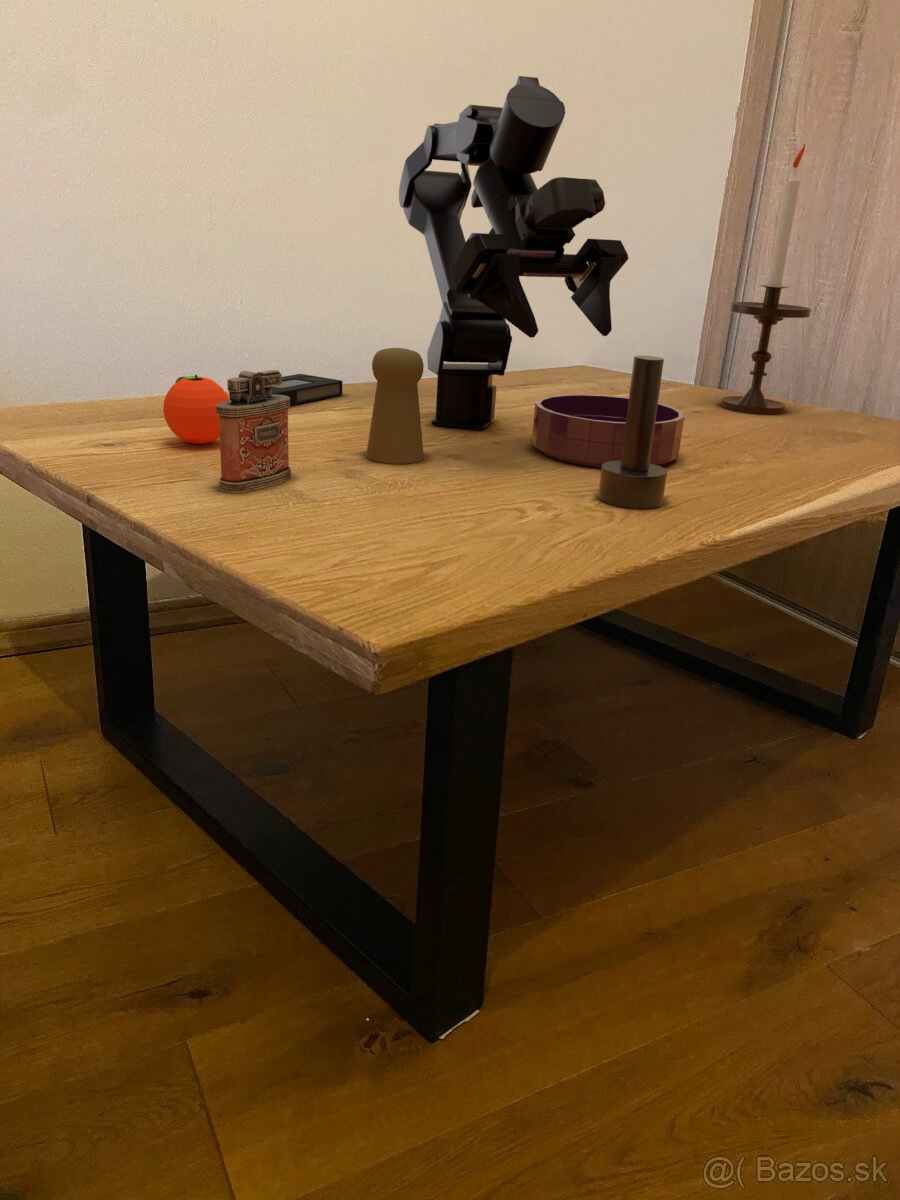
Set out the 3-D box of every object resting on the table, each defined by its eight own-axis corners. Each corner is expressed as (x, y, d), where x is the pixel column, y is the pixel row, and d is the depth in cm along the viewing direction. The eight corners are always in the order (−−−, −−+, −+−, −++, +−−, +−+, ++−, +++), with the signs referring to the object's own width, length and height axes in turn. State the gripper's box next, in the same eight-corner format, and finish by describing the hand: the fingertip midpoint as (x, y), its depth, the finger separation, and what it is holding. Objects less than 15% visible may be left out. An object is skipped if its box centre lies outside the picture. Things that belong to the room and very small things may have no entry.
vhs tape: (343, 395, 128) (343, 380, 127) (274, 409, 116) (274, 393, 115) (300, 388, 131) (300, 373, 130) (229, 401, 120) (229, 385, 119)
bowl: (522, 461, 98) (526, 414, 96) (541, 431, 113) (545, 389, 111) (677, 477, 95) (684, 429, 93) (677, 444, 110) (683, 402, 108)
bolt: (595, 504, 85) (612, 358, 80) (600, 487, 90) (616, 350, 85) (662, 512, 83) (683, 365, 78) (663, 494, 89) (683, 356, 84)
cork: (431, 454, 99) (436, 348, 95) (411, 466, 94) (415, 355, 89) (379, 447, 101) (382, 343, 96) (356, 458, 95) (358, 349, 91)
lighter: (238, 495, 81) (234, 379, 77) (210, 487, 83) (205, 374, 79) (299, 477, 88) (298, 369, 84) (272, 470, 89) (270, 365, 85)
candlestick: (798, 408, 138) (850, 147, 124) (780, 419, 129) (833, 139, 116) (726, 398, 143) (768, 146, 129) (704, 407, 134) (747, 139, 121)
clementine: (147, 439, 98) (142, 371, 96) (203, 431, 103) (200, 366, 100) (189, 454, 93) (185, 382, 91) (246, 445, 98) (244, 377, 95)
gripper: (473, 136, 84) (536, 275, 79) (628, 154, 93) (691, 279, 89) (425, 227, 93) (479, 356, 88) (570, 234, 102) (625, 351, 98)
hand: (572, 334), depth 91 cm, fingers open, 9 cm apart
